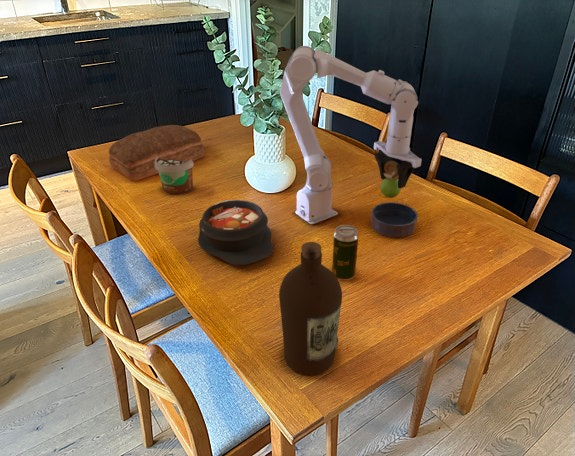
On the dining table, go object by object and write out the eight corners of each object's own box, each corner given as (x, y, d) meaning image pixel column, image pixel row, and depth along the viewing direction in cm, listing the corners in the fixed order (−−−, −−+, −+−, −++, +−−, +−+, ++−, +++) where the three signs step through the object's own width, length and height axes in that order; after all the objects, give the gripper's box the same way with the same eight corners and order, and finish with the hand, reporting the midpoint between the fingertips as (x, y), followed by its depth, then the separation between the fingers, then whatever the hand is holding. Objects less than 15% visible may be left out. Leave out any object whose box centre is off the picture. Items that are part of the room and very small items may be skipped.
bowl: (392, 244, 116) (394, 231, 113) (360, 223, 124) (361, 210, 122) (425, 229, 121) (427, 216, 119) (392, 210, 130) (394, 198, 127)
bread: (108, 168, 156) (100, 136, 149) (182, 144, 172) (178, 114, 166) (132, 184, 145) (124, 151, 139) (208, 157, 162) (205, 126, 156)
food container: (151, 194, 140) (145, 164, 134) (161, 185, 145) (155, 155, 139) (189, 198, 137) (184, 168, 132) (197, 188, 142) (193, 159, 137)
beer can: (352, 266, 108) (355, 223, 102) (357, 280, 104) (361, 237, 97) (329, 267, 108) (331, 225, 101) (334, 282, 103) (336, 238, 97)
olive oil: (270, 351, 87) (264, 242, 73) (314, 327, 92) (316, 221, 78) (303, 389, 79) (304, 276, 66) (349, 361, 84) (359, 251, 71)
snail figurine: (397, 204, 120) (403, 162, 114) (375, 197, 124) (379, 156, 117) (406, 196, 124) (412, 155, 117) (385, 190, 127) (389, 149, 121)
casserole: (184, 229, 123) (179, 202, 118) (246, 211, 130) (245, 184, 126) (221, 281, 104) (217, 251, 100) (291, 255, 112) (291, 227, 108)
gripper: (432, 139, 111) (424, 188, 118) (389, 122, 121) (384, 169, 128) (412, 146, 107) (405, 196, 115) (369, 128, 118) (365, 175, 125)
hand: (393, 182), depth 121 cm, fingers closed on snail figurine, 6 cm apart
